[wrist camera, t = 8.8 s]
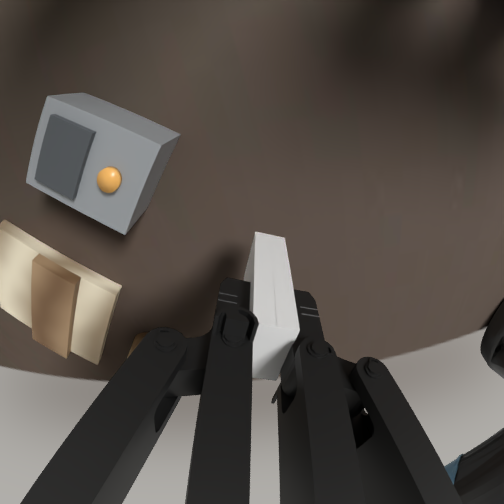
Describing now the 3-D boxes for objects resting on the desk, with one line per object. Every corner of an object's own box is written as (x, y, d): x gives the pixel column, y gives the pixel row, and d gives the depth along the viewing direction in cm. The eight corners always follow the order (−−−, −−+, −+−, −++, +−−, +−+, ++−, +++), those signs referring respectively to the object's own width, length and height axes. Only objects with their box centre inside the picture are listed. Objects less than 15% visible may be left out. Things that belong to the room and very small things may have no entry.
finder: (181, 134, 15) (158, 146, 11) (148, 206, 17) (122, 238, 14) (85, 92, 14) (42, 96, 10) (62, 163, 16) (21, 184, 12)
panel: (121, 285, 20) (111, 304, 18) (101, 356, 25) (94, 372, 23) (5, 219, 17) (-11, 231, 15) (6, 300, 22) (-5, 313, 20)
